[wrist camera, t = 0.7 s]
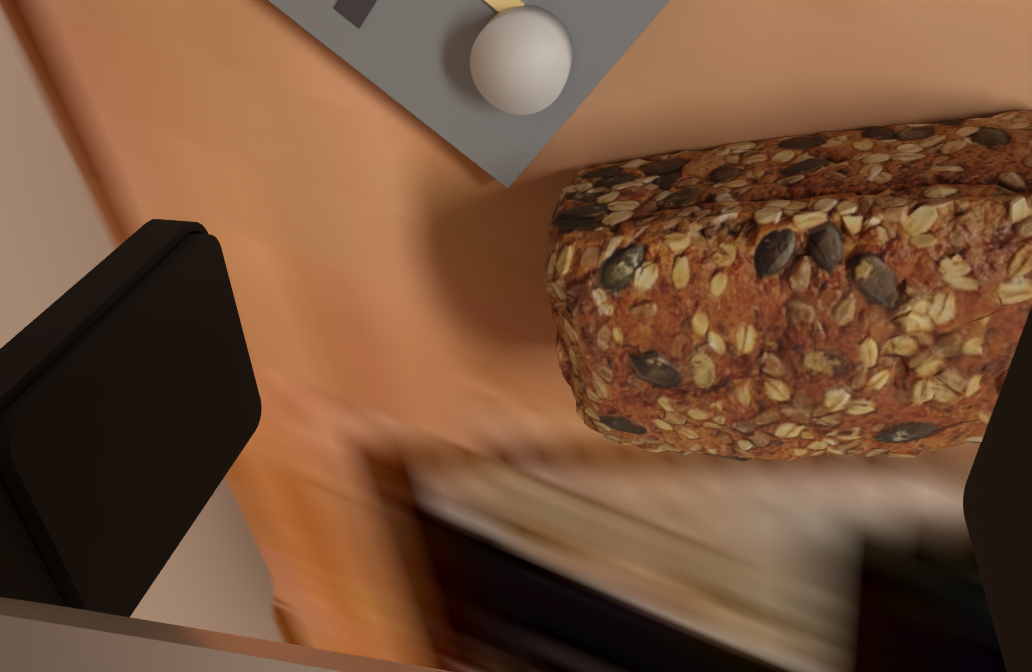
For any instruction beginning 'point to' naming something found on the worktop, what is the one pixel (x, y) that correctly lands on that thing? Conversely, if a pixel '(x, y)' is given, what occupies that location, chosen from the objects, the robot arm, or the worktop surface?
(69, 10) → the worktop surface
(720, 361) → the bread
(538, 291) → the worktop surface
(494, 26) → the console
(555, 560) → the worktop surface
